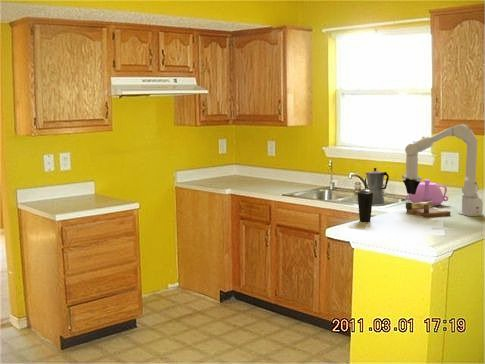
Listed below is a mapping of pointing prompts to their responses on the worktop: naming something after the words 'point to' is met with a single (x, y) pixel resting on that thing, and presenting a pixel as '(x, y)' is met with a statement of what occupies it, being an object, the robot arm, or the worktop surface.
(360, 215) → the drinking cup
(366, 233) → the worktop surface
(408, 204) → the birch leg
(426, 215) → the walnut stool seat
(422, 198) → the teapot
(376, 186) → the moka pot
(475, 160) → the robot arm
